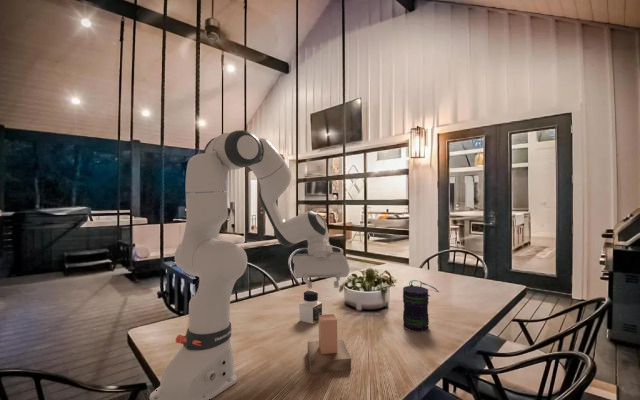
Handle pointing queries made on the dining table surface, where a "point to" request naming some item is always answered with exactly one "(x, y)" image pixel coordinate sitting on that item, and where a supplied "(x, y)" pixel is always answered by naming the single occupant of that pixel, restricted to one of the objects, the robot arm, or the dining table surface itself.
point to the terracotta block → (328, 334)
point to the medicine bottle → (310, 307)
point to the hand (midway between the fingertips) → (323, 287)
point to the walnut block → (328, 358)
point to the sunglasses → (423, 284)
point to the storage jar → (415, 308)
